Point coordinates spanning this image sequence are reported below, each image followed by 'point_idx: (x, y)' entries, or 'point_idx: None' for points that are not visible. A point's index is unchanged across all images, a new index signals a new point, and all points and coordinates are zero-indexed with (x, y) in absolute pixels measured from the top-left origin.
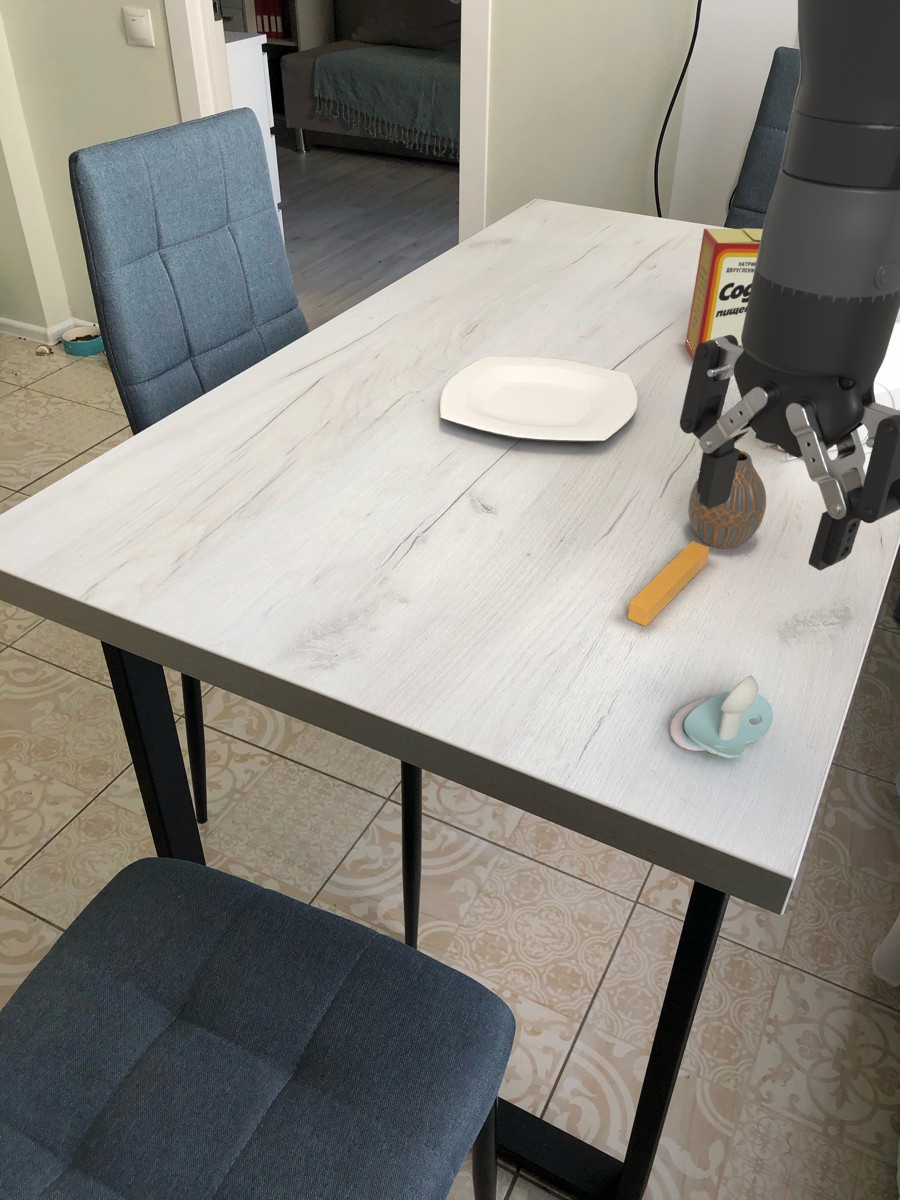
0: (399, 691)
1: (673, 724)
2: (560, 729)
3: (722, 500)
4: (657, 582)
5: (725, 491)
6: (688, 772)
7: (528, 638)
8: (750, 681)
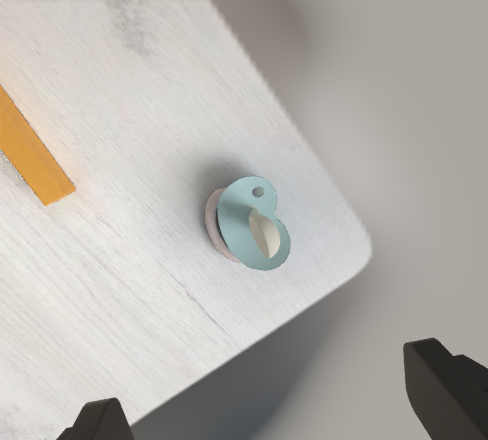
0: None
1: (225, 255)
2: (187, 328)
3: (118, 415)
4: (13, 153)
5: (109, 437)
6: None
7: (63, 302)
8: (271, 240)
